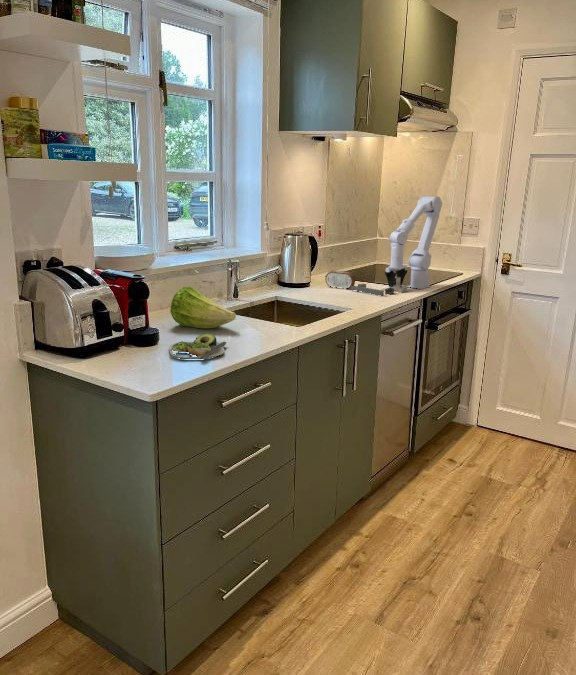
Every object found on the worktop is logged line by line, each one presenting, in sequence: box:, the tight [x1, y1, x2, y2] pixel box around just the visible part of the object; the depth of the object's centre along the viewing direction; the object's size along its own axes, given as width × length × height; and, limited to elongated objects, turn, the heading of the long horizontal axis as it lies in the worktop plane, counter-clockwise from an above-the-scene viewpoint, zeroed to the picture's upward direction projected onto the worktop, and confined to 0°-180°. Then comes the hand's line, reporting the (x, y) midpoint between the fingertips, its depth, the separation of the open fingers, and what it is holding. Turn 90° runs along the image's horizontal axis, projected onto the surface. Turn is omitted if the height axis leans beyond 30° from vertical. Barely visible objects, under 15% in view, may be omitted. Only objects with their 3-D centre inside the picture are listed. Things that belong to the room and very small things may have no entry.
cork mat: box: [381, 287, 409, 294], centre depth 277 cm, size 8×10×1 cm
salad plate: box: [168, 333, 228, 360], centre depth 175 cm, size 19×18×5 cm
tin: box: [325, 270, 356, 289], centre depth 281 cm, size 15×3×8 cm, turn 59°
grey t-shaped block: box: [388, 276, 408, 293], centre depth 275 cm, size 4×8×6 cm, turn 45°
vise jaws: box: [350, 283, 395, 297], centre depth 272 cm, size 9×20×2 cm, turn 45°
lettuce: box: [169, 286, 237, 329], centre depth 204 cm, size 14×24×15 cm
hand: (395, 285), depth 276 cm, fingers open, 7 cm apart
